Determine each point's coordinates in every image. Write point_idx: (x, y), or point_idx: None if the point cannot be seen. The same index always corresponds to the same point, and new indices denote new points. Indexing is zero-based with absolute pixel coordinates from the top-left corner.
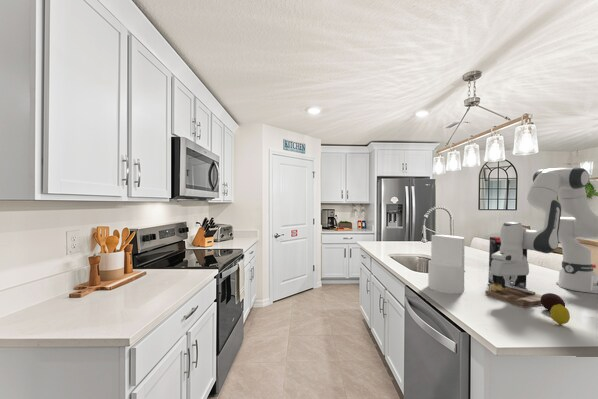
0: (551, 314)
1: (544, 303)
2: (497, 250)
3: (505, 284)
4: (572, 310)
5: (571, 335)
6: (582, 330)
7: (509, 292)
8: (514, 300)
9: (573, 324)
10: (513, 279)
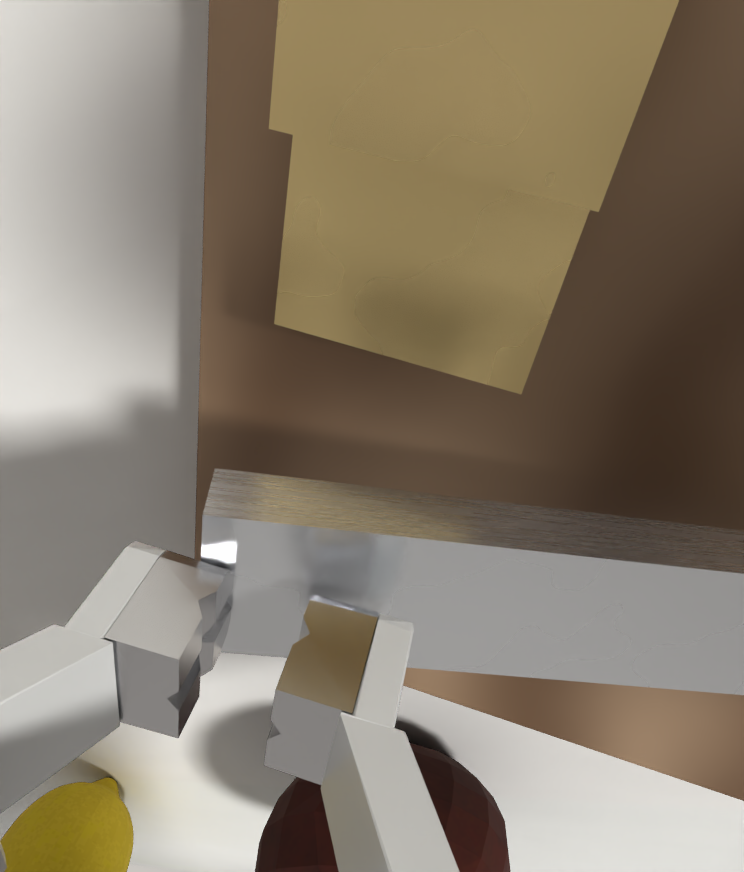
0: (9, 829)
1: (273, 811)
2: None
3: (205, 510)
4: (651, 868)
5: (22, 805)
6: (165, 847)
7: (670, 317)
8: (198, 527)
9: (220, 829)
10: (343, 825)
